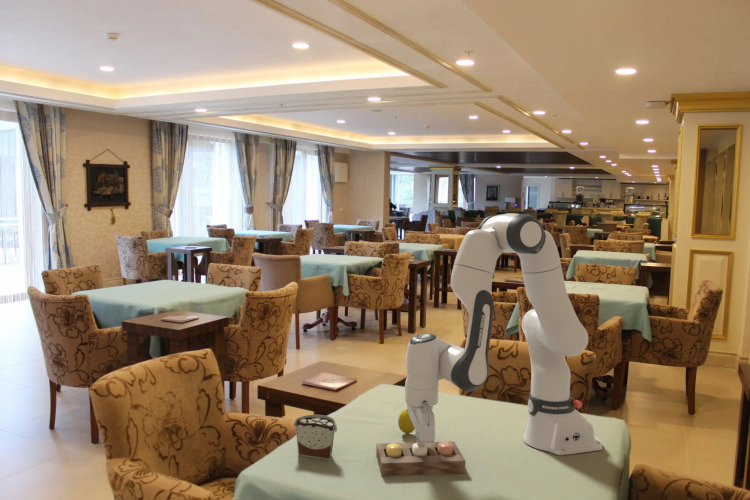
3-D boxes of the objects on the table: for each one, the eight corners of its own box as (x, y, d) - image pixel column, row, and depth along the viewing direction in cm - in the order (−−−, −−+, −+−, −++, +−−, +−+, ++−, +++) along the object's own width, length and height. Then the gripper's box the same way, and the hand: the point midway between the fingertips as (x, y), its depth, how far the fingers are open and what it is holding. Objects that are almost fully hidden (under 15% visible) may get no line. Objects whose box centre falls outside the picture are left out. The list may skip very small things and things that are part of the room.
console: (453, 453, 166) (454, 441, 166) (464, 473, 154) (465, 460, 154) (376, 455, 164) (376, 443, 163) (381, 476, 152) (381, 463, 151)
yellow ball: (399, 455, 160) (400, 443, 160) (402, 462, 156) (402, 449, 156) (385, 456, 160) (385, 443, 159) (387, 462, 156) (387, 449, 156)
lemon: (414, 439, 176) (415, 412, 175) (396, 437, 177) (397, 411, 176) (417, 431, 181) (418, 406, 180) (399, 429, 182) (400, 404, 181)
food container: (342, 451, 166) (343, 416, 165) (335, 460, 160) (335, 424, 159) (301, 445, 169) (302, 411, 168) (293, 454, 164) (293, 419, 163)
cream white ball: (425, 454, 161) (425, 442, 161) (428, 461, 157) (428, 448, 157) (410, 455, 161) (411, 442, 160) (413, 461, 157) (413, 449, 156)
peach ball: (450, 454, 162) (450, 441, 161) (453, 460, 158) (454, 448, 158) (436, 454, 161) (436, 442, 161) (439, 461, 157) (439, 448, 157)
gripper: (441, 409, 147) (440, 462, 149) (425, 382, 167) (424, 429, 169) (417, 409, 147) (415, 463, 148) (403, 383, 167) (402, 430, 168)
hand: (420, 445), depth 158 cm, fingers closed
